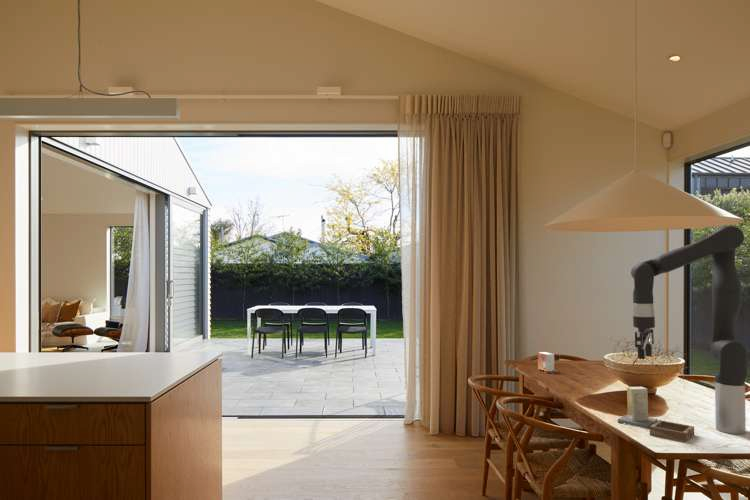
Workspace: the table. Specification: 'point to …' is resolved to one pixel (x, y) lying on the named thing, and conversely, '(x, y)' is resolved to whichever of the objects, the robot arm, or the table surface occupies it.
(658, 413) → the table surface
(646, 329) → the robot arm
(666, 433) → the pocket holder
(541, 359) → the small box
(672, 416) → the table surface
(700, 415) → the table surface
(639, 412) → the skincare box
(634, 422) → the rubber mat
